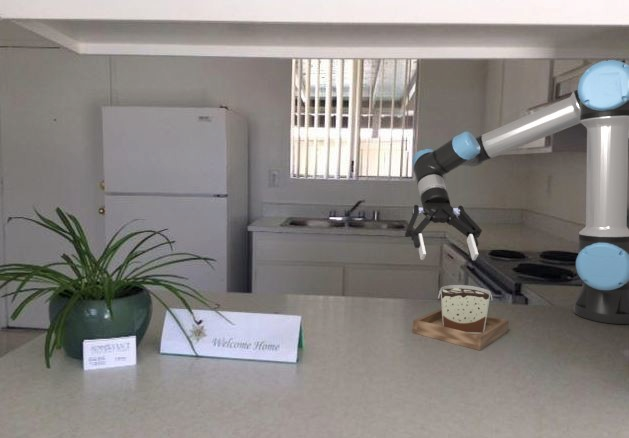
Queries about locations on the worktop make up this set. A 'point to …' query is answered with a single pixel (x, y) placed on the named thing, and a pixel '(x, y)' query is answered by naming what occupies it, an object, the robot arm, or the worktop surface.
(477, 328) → the food container
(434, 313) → the walnut pocket tray
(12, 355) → the worktop surface
